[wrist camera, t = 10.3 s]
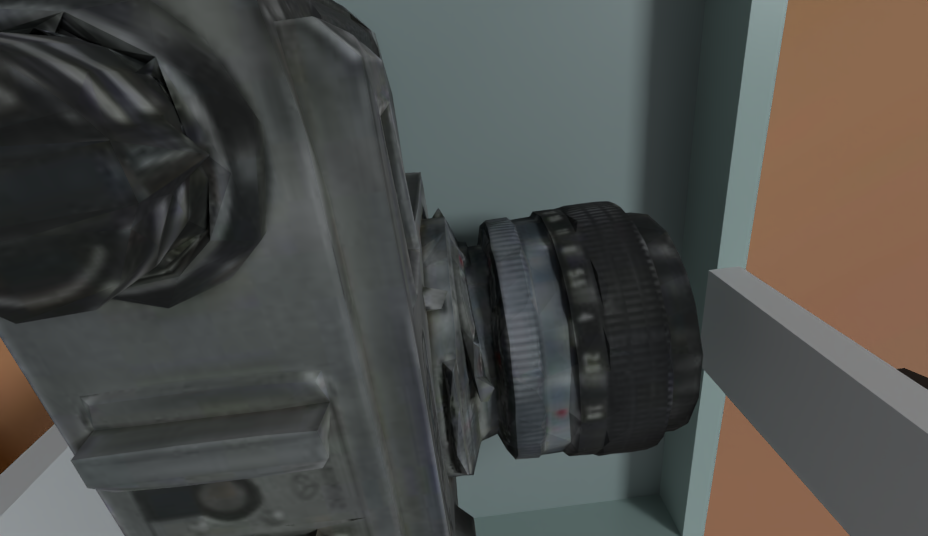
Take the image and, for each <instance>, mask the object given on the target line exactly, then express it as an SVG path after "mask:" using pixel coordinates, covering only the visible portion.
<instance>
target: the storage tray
mask: <svg viewBox="0 0 928 536" xmlns="http://www.w3.org/2000/svg"><path fill="white" fill-rule="evenodd" d="M333 1H335V2H336V3H338V4H340V5H342V6H344V7H345V8H346V9H347V10H349V11H350V12H351V13H352V14H353V15H354V16H356V17H357V18H358V19H359V20H360V21H361V22H362V23H364V24H365V25H366V26H367V27H368V28H369V29H370V30H372V31H373V32H374V33H375V35H376V39H377V42H378V46H379V49H380V53H381V56H382V60H383V63H384V67H385V70H386V74H387V77H388V81H389V84H390V88H391V91H392V95H393V102H394V108H395V115H396V121H397V127H398V134H399V140H400V146H401V153H402V159H403V166H404V171H405V173H412V172H421V177H422V182H423V187H424V193H425V199H426V205H427V212H428V218H432V217H433V215H434V213H435V212H436V210H437V209H438V208H439V209H440V211H441V213H442V214H443V216H444V217H445V219H446V221H447V222H448V224H449V226H450V228H451V230H452V231H453V233H454V235H455V237H456V239H457V241H462V242H466V244H467V246H468V247H469V246H475V245H477V243H478V235H479V226H480V225H481V224H482V223H483V222H484V221H485V220H491V219H497V218H504V217H507V218H508V219H509V220H512V219H518V218H524V217H529V216H530V215H531V213H532V212H533V211H541V210H549V209H556V208H559V207H562V206H566V205H574V204H581V203H589V202H599V201H609V202H612V203H615V204H617V205H618V206H620V207H621V208H622V209H623V210H624V212H625V213H629V212H632V213H641V214H648V215H649V216H650V217H651V218H653V219H654V220H655V221H656V222H657V223H658V224H659V225H660V226H662V227H663V228H664V229H665V230H666V231H667V232H668V234H669V236H670V238H671V240H672V242H673V243H674V245H675V247H676V249H677V251H678V253H679V255H680V257H681V260H682V262H683V265H684V267H685V270H686V272H687V275H688V278H689V282H690V285H691V289H692V292H693V296H694V299H695V303H696V309H697V316H698V323H699V330H700V337H701V329H702V321H703V313H704V304H705V296H706V288H707V280H708V271H709V270H713V269H721V268H729V267H737V266H740V267H742V268H743V269H746V263H747V257H748V250H749V244H750V238H751V231H752V225H753V219H754V212H755V206H756V200H757V193H758V187H759V181H760V174H761V168H762V162H763V155H764V149H765V143H766V136H767V130H768V124H769V117H770V111H771V105H772V98H773V92H774V86H775V79H776V73H777V67H778V60H779V54H780V48H781V41H782V35H783V29H784V22H785V16H786V10H787V3H788V0H333ZM725 396H726V394H725V393H724V392H723V391H722V390H721V389H720V388H719V386H718V385H717V384H716V383H715V382H714V381H713V380H712V378H711V377H710V376H709V375H708V374H707V373H706V372H705V371H704V369H703V368H702V372H701V383H700V393H699V399H698V401H697V404H696V406H695V408H694V411H693V413H692V416H691V418H690V420H689V423H688V424H686V425H684V426H682V427H680V428H679V429H677V430H675V431H669V432H665V434H664V437H663V438H662V439H661V441H660V442H659V443H658V445H656V446H654V447H651V448H649V449H647V450H641V451H635V452H629V453H618V454H609V455H603V456H597V455H594V454H591V455H579V456H568V455H567V454H565V453H564V452H559V453H552V454H545V455H541V456H540V457H539V458H528V459H518V460H515V458H514V457H513V456H512V455H511V454H510V453H509V452H508V451H507V449H506V448H505V446H504V444H503V442H502V441H501V439H500V437H499V436H498V434H496V435H494V436H492V437H490V438H488V439H485V440H483V441H482V442H481V445H480V449H479V454H478V458H477V463H476V467H475V472H474V475H464V476H458V477H456V482H457V496H458V507H460V508H461V509H462V510H464V511H465V512H467V513H468V514H469V515H471V516H472V517H474V522H475V530H476V536H703V535H704V529H705V523H706V516H707V510H708V504H709V497H710V491H711V485H712V478H713V472H714V466H715V459H716V453H717V447H718V440H719V434H720V428H721V421H722V415H723V409H724V402H725Z"/></svg>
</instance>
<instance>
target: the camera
mask: <svg viewBox="0 0 928 536" xmlns="http://www.w3.org/2000/svg"><path fill="white" fill-rule="evenodd" d="M0 337H1V339H2V340H3V342H4V344H5V345H6V347H7V348H8V350H9V352H10V353H11V355H12V356H13V358H14V360H15V361H16V363H17V364H18V366H19V367H20V369H21V371H22V372H23V374H24V375H25V377H26V379H27V380H28V382H29V383H30V385H31V387H32V388H33V390H34V391H35V393H36V395H37V396H38V398H39V399H40V401H41V403H42V404H43V406H44V407H45V409H46V411H47V412H48V414H49V416H50V417H51V419H52V420H53V422H54V424H55V425H56V427H57V428H58V430H59V432H60V433H61V435H62V436H63V438H64V440H65V441H66V443H67V444H68V446H69V448H70V449H71V451H72V453H73V454H74V457H73V458H72V459H71V462H72V464H73V465H74V467H75V469H76V470H77V472H78V474H79V475H80V477H81V479H82V480H83V482H84V483H85V485H86V487H87V488H90V489H96V491H97V493H98V494H99V496H100V497H101V499H102V501H103V502H104V504H105V505H106V507H107V509H108V510H109V512H110V513H111V515H112V517H113V518H114V520H115V521H116V523H117V525H118V526H119V528H120V529H121V531H122V533H123V534H124V536H476V530H475V522H474V517H472V516H471V515H469V514H468V513H467V512H465V511H464V510H462V509H461V508H460V507H458V496H457V482H456V477H458V476H464V475H474V472H475V467H476V463H477V458H478V454H479V449H480V445H481V442H482V441H483V440H485V439H488V438H490V437H492V436H494V435H496V434H498V436H499V437H500V439H501V441H502V442H503V444H504V446H505V448H506V449H507V451H508V452H509V453H510V454H511V455H512V456H513V457H514V458H515V460H518V459H528V458H539V457H540V456H541V455H545V454H552V453H559V452H564V453H565V454H567V455H568V456H579V455H591V454H594V455H597V456H603V455H609V454H618V453H629V452H635V451H641V450H647V449H649V448H651V447H654V446H656V445H658V443H659V442H660V441H661V439H662V438H663V437H664V434H665V432H669V431H675V430H677V429H679V428H680V427H682V426H684V425H686V424H688V423H689V420H690V418H691V416H692V413H693V411H694V408H695V406H696V404H697V401H698V399H699V393H700V383H701V372H702V361H703V350H702V344H701V337H700V330H699V323H698V316H697V309H696V303H695V299H694V296H693V292H692V289H691V285H690V282H689V278H688V275H687V272H686V270H685V267H684V265H683V262H682V260H681V257H680V255H679V253H678V251H677V249H676V247H675V245H674V243H673V242H672V240H671V238H670V236H669V234H668V232H667V231H666V230H665V229H664V228H663V227H662V226H660V225H659V224H658V223H657V222H656V221H655V220H654V219H653V218H651V217H650V216H649V215H648V214H641V213H632V212H629V213H625V212H624V210H623V209H622V208H621V207H620V206H618V205H617V204H615V203H612V202H609V201H599V202H589V203H581V204H574V205H566V206H562V207H559V208H556V209H549V210H541V211H533V212H532V213H531V215H530V216H529V217H524V218H518V219H512V220H509V219H508V218H507V217H504V218H497V219H491V220H485V221H484V222H483V223H482V224H481V225H480V226H479V235H478V243H477V245H475V246H469V247H468V246H467V244H466V242H462V241H457V239H456V237H455V235H454V233H453V231H452V230H451V228H450V226H449V224H448V222H447V221H446V219H445V217H444V216H443V214H442V213H441V211H440V209H439V208H438V209H437V210H436V212H435V213H434V215H433V217H432V218H428V212H427V205H426V199H425V193H424V187H423V182H422V177H421V172H412V173H405V171H404V166H403V159H402V153H401V146H400V140H399V134H398V127H397V121H396V115H395V108H394V102H393V95H392V91H391V88H390V84H389V81H388V77H387V74H386V70H385V67H384V63H383V60H382V56H381V53H380V49H379V46H378V42H377V39H376V35H375V33H374V32H373V31H372V30H370V29H369V28H368V27H367V26H366V25H365V24H364V23H362V22H361V21H360V20H359V19H358V18H357V17H356V16H354V15H353V14H352V13H351V12H350V11H349V10H347V9H346V8H345V7H344V6H342V5H340V4H338V3H336V2H335V1H333V0H0Z"/></svg>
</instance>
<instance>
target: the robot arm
mask: <svg viewBox="0 0 928 536" xmlns="http://www.w3.org/2000/svg"><path fill="white" fill-rule="evenodd" d="M701 344H702V350H703V361H702V368H703V369H704V371H705V372H706V373H707V374H708V375H709V376H710V377H711V378H712V380H713V381H714V382H715V383H716V384H717V385H718V386H719V388H720V389H721V390H722V391H723V392H724V393H725V394H726V396H727V397H728V398H729V399H730V400H731V401H732V402H733V403H734V405H735V406H736V407H737V408H738V409H739V410H740V411H741V413H742V414H743V415H744V416H745V417H746V418H747V419H748V420H749V422H750V423H751V424H752V425H753V426H754V427H755V428H756V430H757V431H758V432H759V433H760V434H761V435H762V436H763V437H764V439H765V440H766V441H767V442H768V443H769V444H770V445H771V447H772V448H773V449H774V450H775V451H776V452H777V453H778V454H779V456H780V457H781V458H782V459H783V460H784V461H785V462H786V464H787V465H788V466H789V467H790V468H791V469H792V470H793V471H794V473H795V474H796V475H797V476H798V477H799V478H800V479H801V481H802V482H803V483H804V484H805V485H806V486H807V487H808V488H809V490H810V491H811V492H812V493H813V494H814V495H815V496H816V498H817V499H818V500H819V501H820V502H821V503H822V504H823V505H824V507H825V508H826V509H827V510H828V511H829V512H830V513H831V515H832V516H833V517H834V518H835V519H836V520H837V521H838V522H839V524H840V525H841V526H842V527H843V528H844V529H845V530H846V532H847V533H848V534H849V535H850V536H928V378H927V377H924V376H922V375H920V374H917V373H915V372H912V371H910V370H908V369H905V368H902V369H895V368H894V367H892V366H891V365H889V364H888V363H886V362H885V361H883V360H882V359H880V358H878V357H877V356H875V355H874V354H872V353H871V352H869V351H868V350H866V349H865V348H863V347H862V346H860V345H859V344H857V343H856V342H854V341H853V340H851V339H850V338H848V337H847V336H845V335H843V334H842V333H840V332H839V331H837V330H836V329H834V328H833V327H831V326H830V325H828V324H827V323H825V322H824V321H822V320H821V319H819V318H818V317H816V316H815V315H813V314H812V313H810V312H809V311H807V310H805V309H804V308H802V307H801V306H799V305H798V304H796V303H795V302H793V301H792V300H790V299H789V298H787V297H786V296H784V295H783V294H781V293H780V292H778V291H777V290H775V289H774V288H772V287H770V286H769V285H767V284H766V283H764V282H763V281H761V280H760V279H758V278H757V277H755V276H754V275H752V274H751V273H749V272H748V271H746V270H745V269H743V268H742V267H740V266H737V267H729V268H721V269H713V270H709V271H708V280H707V288H706V296H705V304H704V313H703V321H702V329H701ZM73 457H74V454H73V453H72V451H71V449H70V448H69V446H68V444H67V443H66V441H65V440H64V438H63V436H62V435H61V433H60V432H59V430H58V428H57V427H56V425H55V424H54V425H53V426H52V427H51V428H50V429H49V430H48V431H46V432H45V433H44V434H43V435H42V436H41V437H40V438H39V439H38V440H37V441H36V442H35V443H34V444H33V445H31V446H30V447H29V448H28V449H27V450H26V451H25V452H24V453H23V454H22V455H21V456H20V457H19V458H18V459H16V460H15V461H14V462H13V463H12V464H11V465H10V466H9V467H8V468H7V469H6V470H5V471H4V472H3V473H1V474H0V536H124V534H123V533H122V531H121V529H120V528H119V526H118V525H117V523H116V521H115V520H114V518H113V517H112V515H111V513H110V512H109V510H108V509H107V507H106V505H105V504H104V502H103V501H102V499H101V497H100V496H99V494H98V493H97V491H96V489H90V488H87V487H86V485H85V483H84V482H83V480H82V479H81V477H80V475H79V474H78V472H77V470H76V469H75V467H74V465H73V464H72V462H71V459H72V458H73Z"/></svg>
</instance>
